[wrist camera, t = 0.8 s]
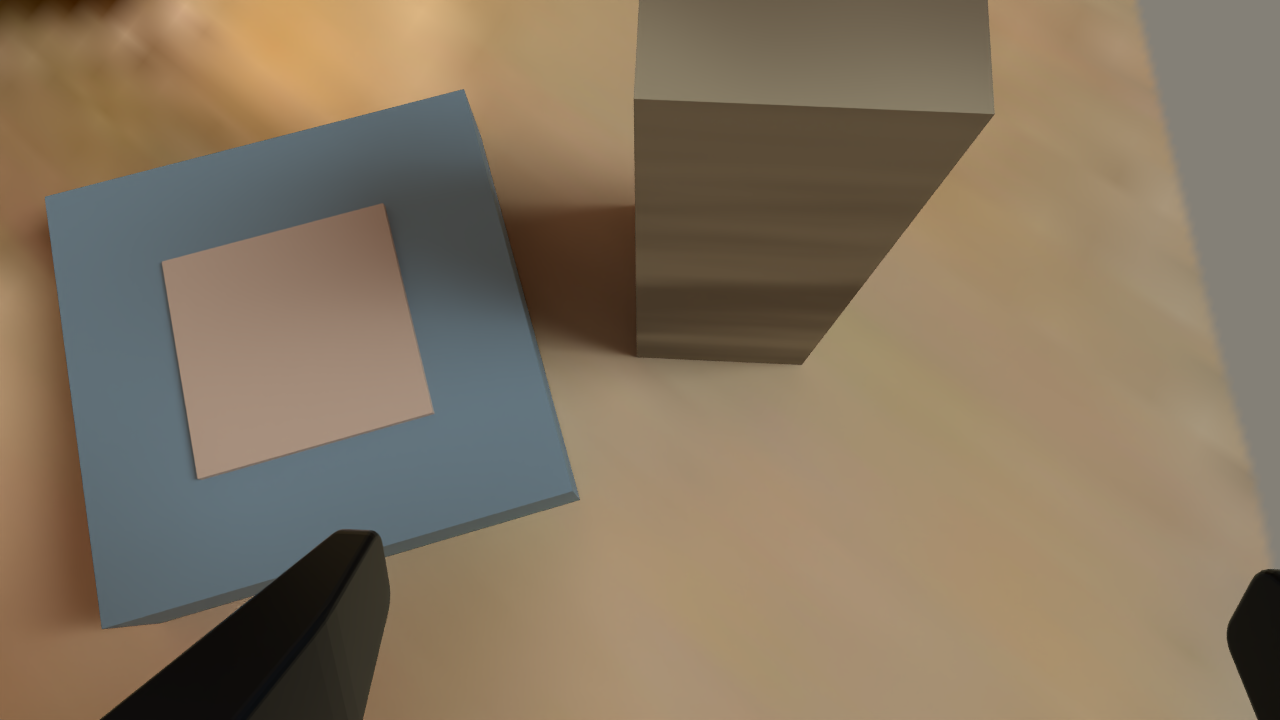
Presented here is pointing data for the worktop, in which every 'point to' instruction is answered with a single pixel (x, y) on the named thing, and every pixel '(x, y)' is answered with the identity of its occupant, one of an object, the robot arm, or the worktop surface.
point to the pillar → (788, 159)
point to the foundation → (298, 357)
